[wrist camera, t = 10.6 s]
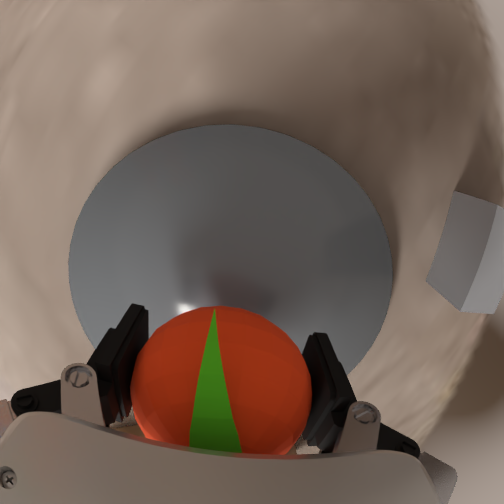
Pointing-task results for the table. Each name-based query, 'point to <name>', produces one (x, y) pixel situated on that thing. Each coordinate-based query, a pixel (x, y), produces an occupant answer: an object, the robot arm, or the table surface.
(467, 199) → the grey brick
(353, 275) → the slate plate
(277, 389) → the clementine
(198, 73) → the table surface
